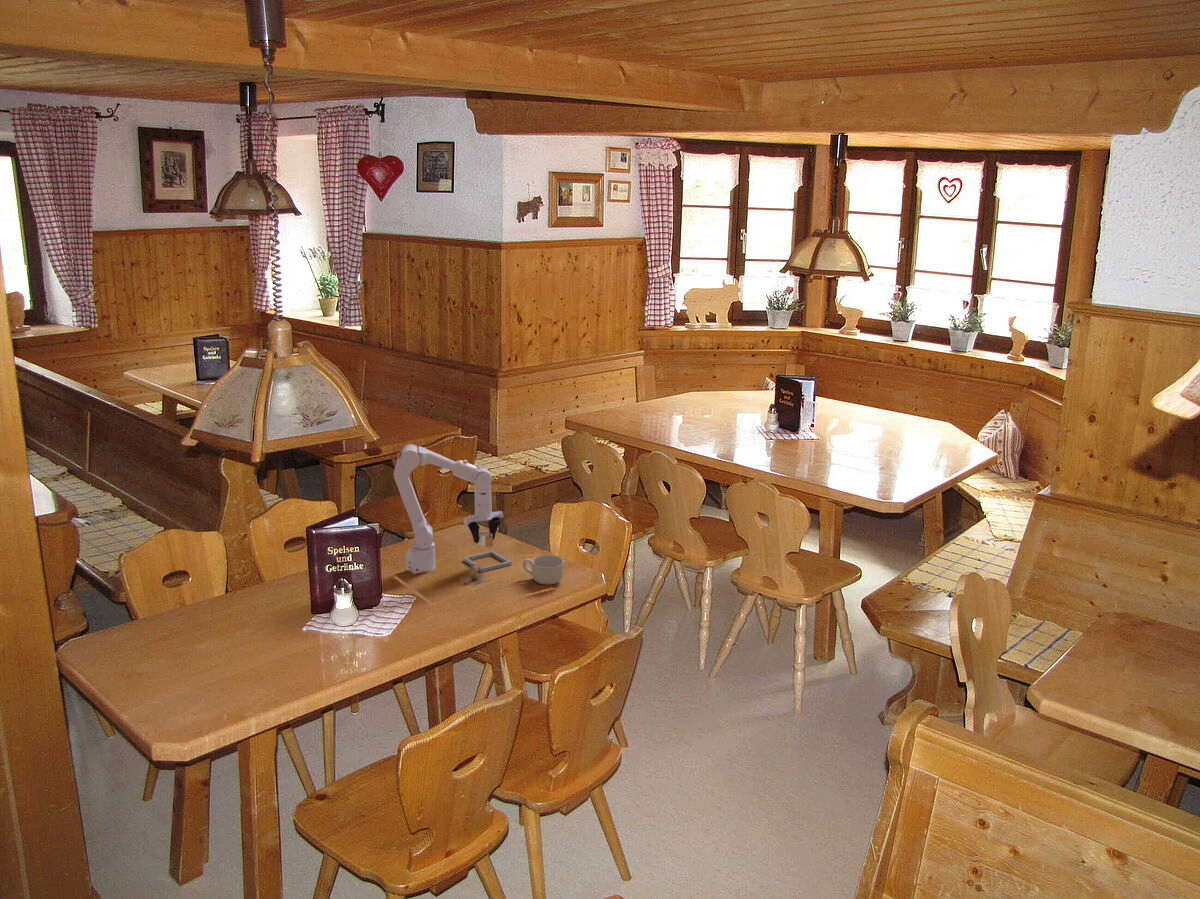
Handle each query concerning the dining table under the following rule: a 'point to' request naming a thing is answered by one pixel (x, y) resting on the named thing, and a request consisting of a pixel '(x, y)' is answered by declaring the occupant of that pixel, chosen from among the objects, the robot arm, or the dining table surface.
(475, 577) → the tan peg stand
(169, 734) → the dining table surface
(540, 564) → the teacup
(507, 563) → the tray
